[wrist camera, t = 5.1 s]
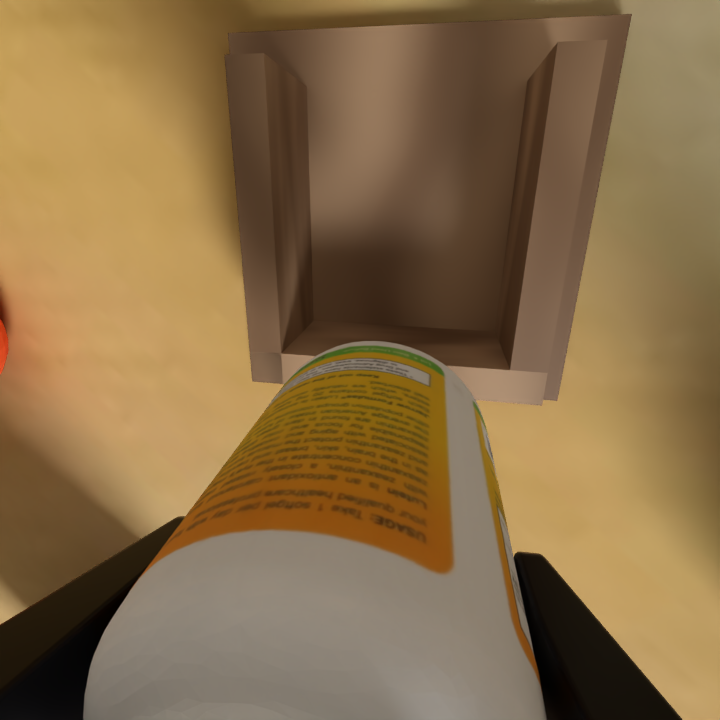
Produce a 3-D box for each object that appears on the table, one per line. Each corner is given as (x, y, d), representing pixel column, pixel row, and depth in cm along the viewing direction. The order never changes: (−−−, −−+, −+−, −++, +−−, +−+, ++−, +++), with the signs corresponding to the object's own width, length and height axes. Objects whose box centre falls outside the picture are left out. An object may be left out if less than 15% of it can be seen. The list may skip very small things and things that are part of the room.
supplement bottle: (238, 422, 12) (-352, 1131, 3) (379, 288, 10) (-96, 1173, 1) (376, 548, 13) (239, 1392, 4) (531, 446, 11) (993, 1690, 2)
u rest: (624, 20, 15) (706, -56, 10) (553, 394, 20) (587, 456, 15) (234, 38, 17) (158, -19, 12) (260, 371, 22) (213, 419, 17)
